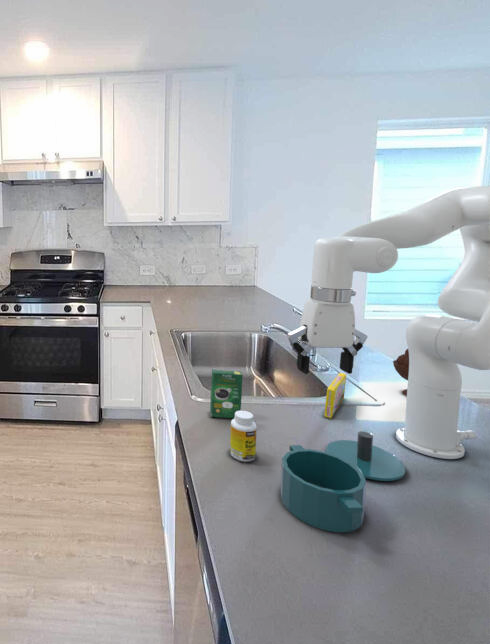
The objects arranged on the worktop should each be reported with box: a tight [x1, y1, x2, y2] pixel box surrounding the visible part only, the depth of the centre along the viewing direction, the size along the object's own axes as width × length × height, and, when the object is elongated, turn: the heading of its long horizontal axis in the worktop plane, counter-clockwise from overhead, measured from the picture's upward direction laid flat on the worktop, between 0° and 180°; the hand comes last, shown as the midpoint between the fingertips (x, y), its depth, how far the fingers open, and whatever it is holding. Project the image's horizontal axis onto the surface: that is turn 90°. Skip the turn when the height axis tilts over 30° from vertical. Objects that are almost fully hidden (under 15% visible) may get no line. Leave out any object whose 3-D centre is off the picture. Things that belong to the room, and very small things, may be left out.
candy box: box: [323, 372, 347, 419], centre depth 117 cm, size 16×2×8 cm, turn 137°
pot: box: [280, 444, 367, 533], centre depth 78 cm, size 14×19×8 cm
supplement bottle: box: [229, 410, 257, 463], centre depth 94 cm, size 6×6×10 cm
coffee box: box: [209, 369, 244, 420], centre depth 113 cm, size 8×3×13 cm, turn 79°
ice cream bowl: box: [392, 348, 409, 397], centre depth 124 cm, size 11×11×15 cm
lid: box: [325, 431, 406, 482], centre depth 91 cm, size 15×15×7 cm
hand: (324, 371), depth 90 cm, fingers open, 9 cm apart
